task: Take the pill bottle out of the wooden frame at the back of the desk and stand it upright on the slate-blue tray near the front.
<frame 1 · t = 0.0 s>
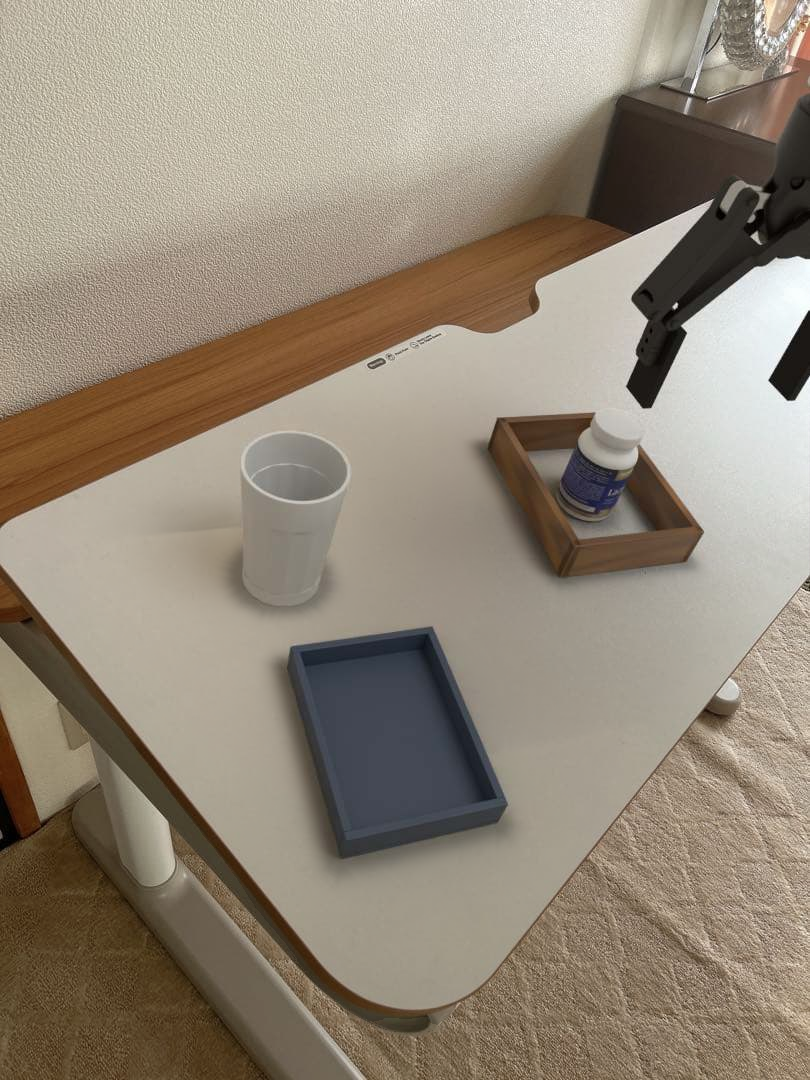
hand: (712, 394, 68), 19 cm above the table, tool pointing down, fingers open, 13 cm apart
tray: (387, 741, 63), on the table
wooden frame: (583, 503, 86), on the table
pill bottle: (582, 504, 86), resting in wooden frame
cup: (281, 578, 72), on the table
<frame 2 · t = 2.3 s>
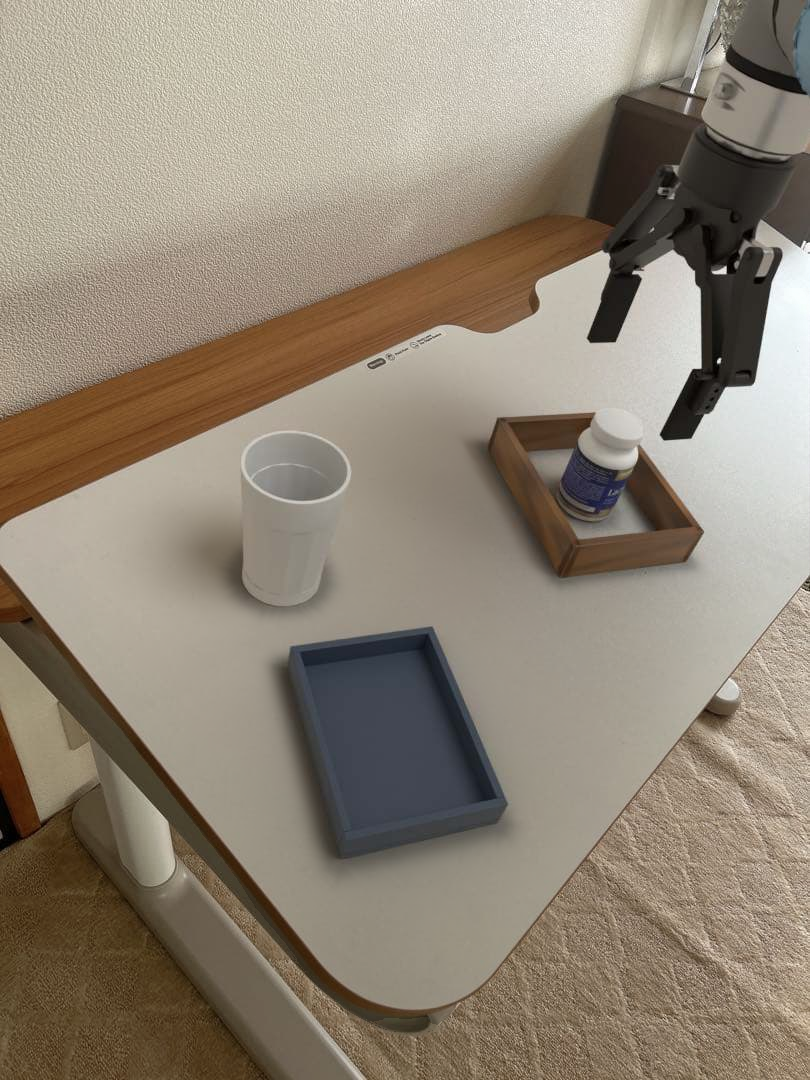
hand: (636, 386, 76), 14 cm above the table, tool pointing down, fingers open, 13 cm apart
nothing on the table moved.
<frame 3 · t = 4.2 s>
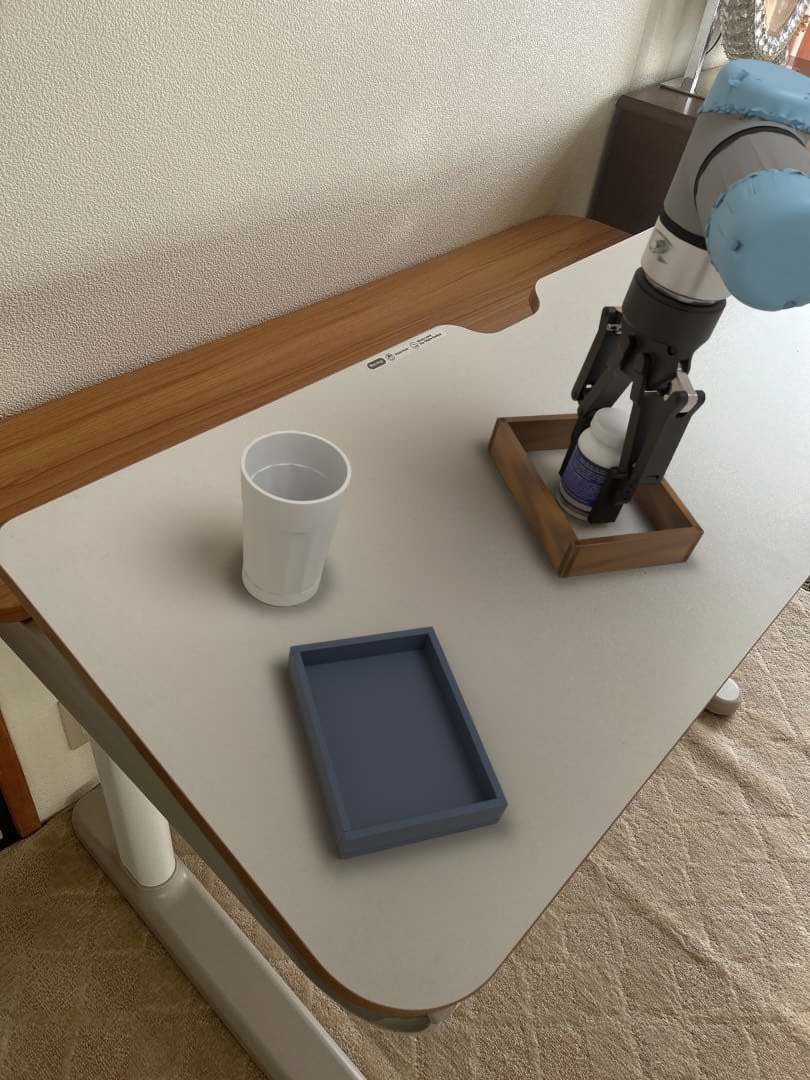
hand: (586, 496, 85), 1 cm above the table, tool pointing down, fingers closed on pill bottle, 6 cm apart
pill bottle: (582, 504, 86), resting in wooden frame, touching gripper
everything else where it was.
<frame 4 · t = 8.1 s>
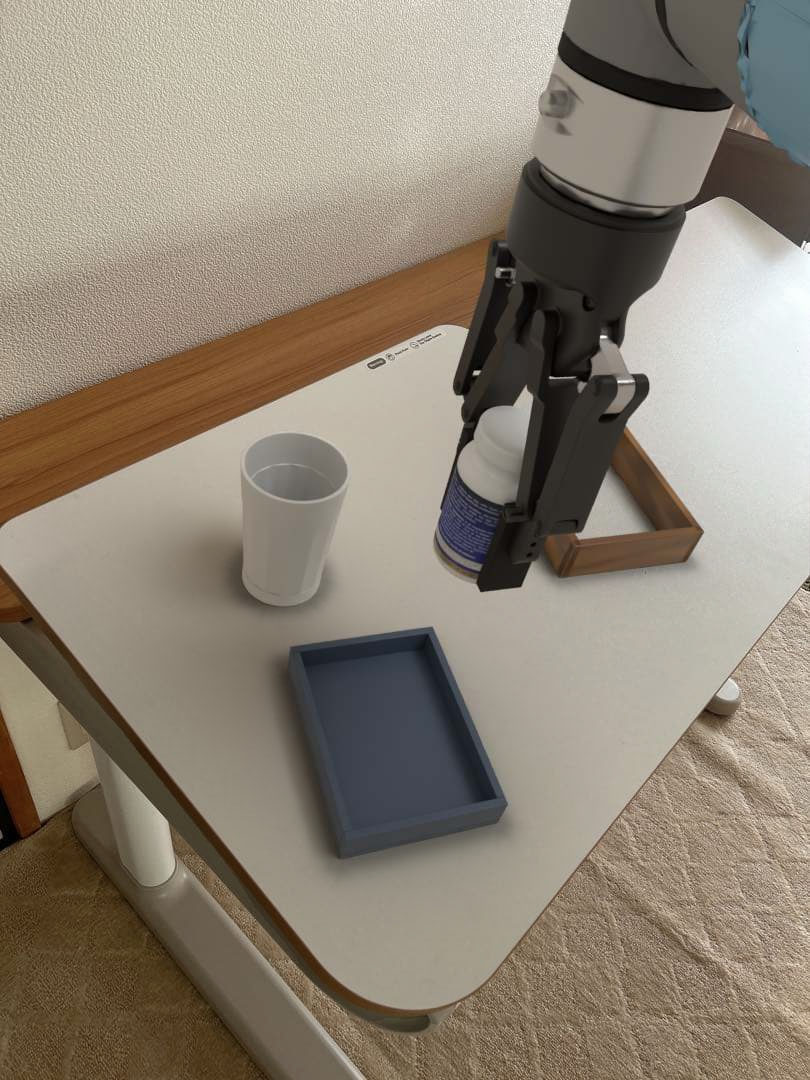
hand: (479, 545, 55), 17 cm above the table, tool pointing down, fingers closed on pill bottle, 6 cm apart
pill bottle: (475, 557, 55), point 16 cm above the table, touching gripper
everything else where it was.
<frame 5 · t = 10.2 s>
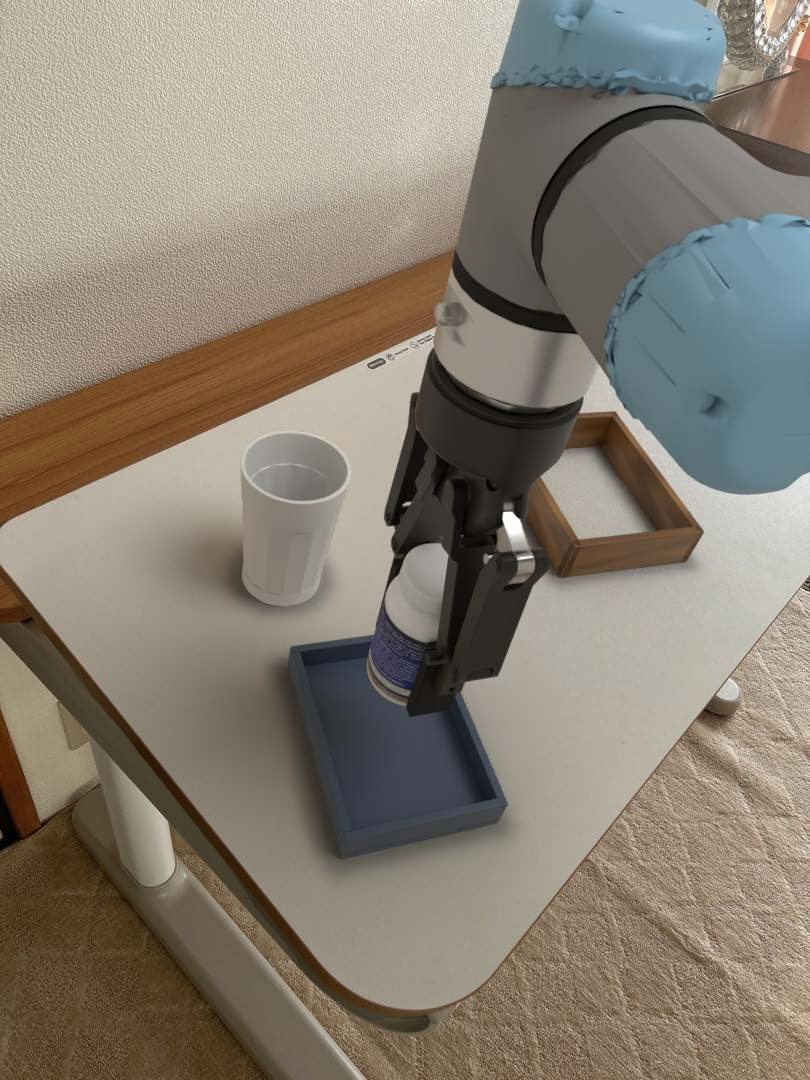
hand: (411, 666, 57), 9 cm above the table, tool pointing down, fingers closed on pill bottle, 6 cm apart
pill bottle: (408, 675, 57), point 8 cm above the table, touching gripper
everything else where it was.
when the fingers open (1 cm above the table, at t = 12.2 s): pill bottle stays where it is, resting on tray.
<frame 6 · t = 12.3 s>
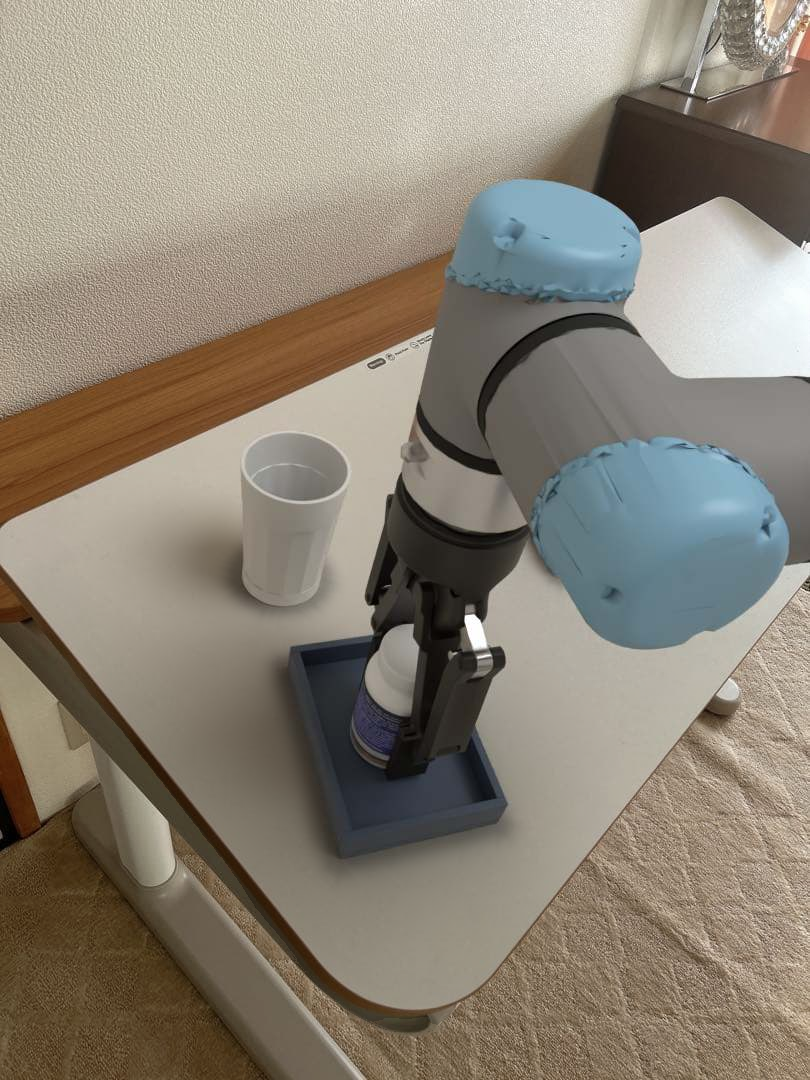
hand: (390, 731, 62), 1 cm above the table, tool pointing down, fingers open, 6 cm apart
pill bottle: (388, 738, 63), resting on tray
everything else where it was.
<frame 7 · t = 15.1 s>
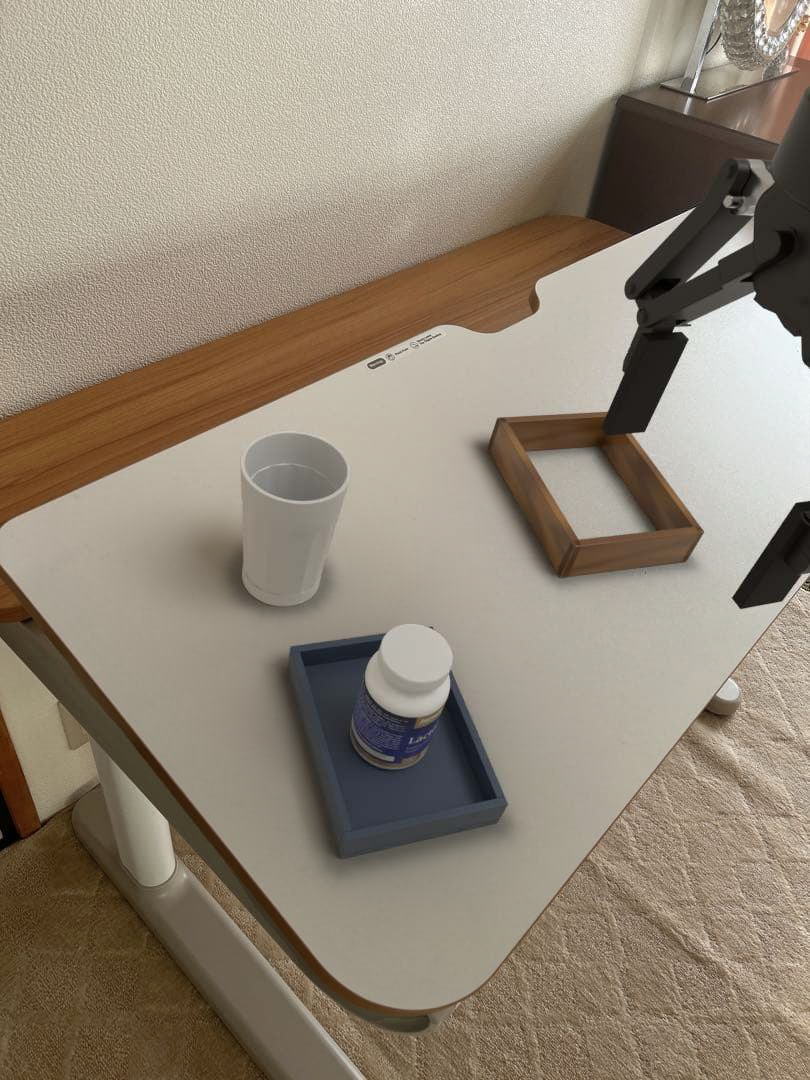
hand: (683, 508, 49), 24 cm above the table, tool pointing down, fingers open, 13 cm apart
nothing on the table moved.
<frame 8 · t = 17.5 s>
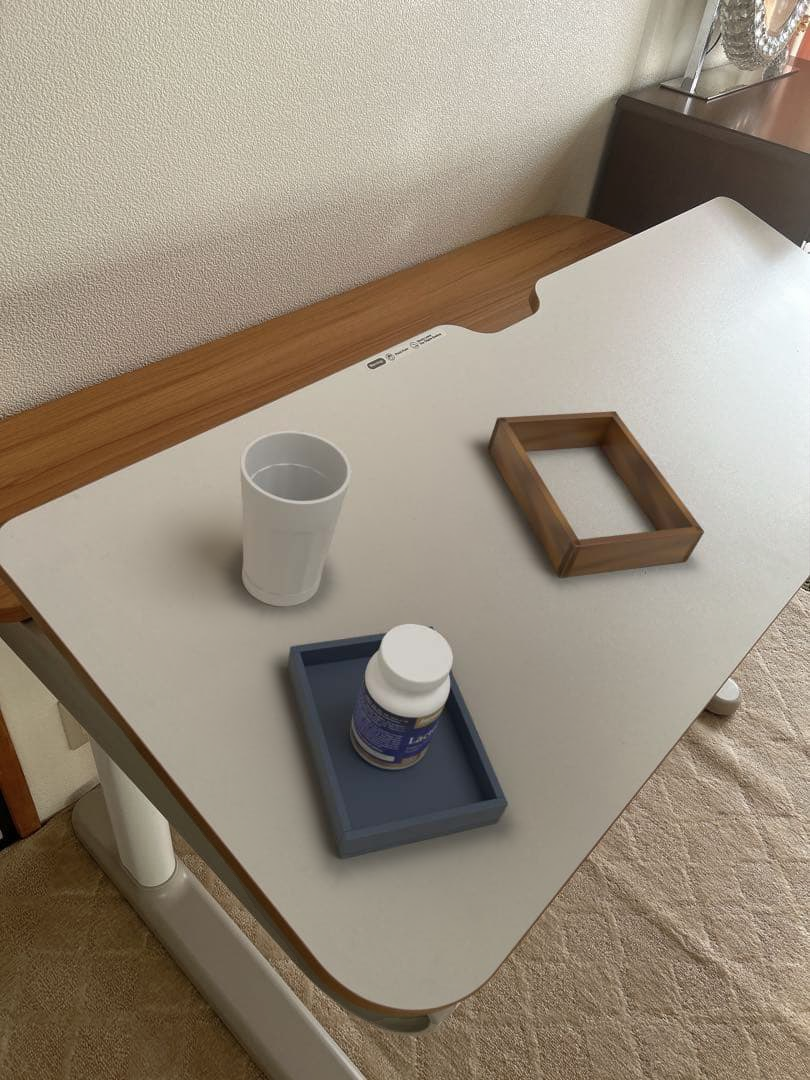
nothing on the table moved.
at the end: pill bottle inside the target area in the tray (0.0 cm from its centre), point 0.4 cm above the tray's base; pill bottle tilted 0°; the gripper is holding nothing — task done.
